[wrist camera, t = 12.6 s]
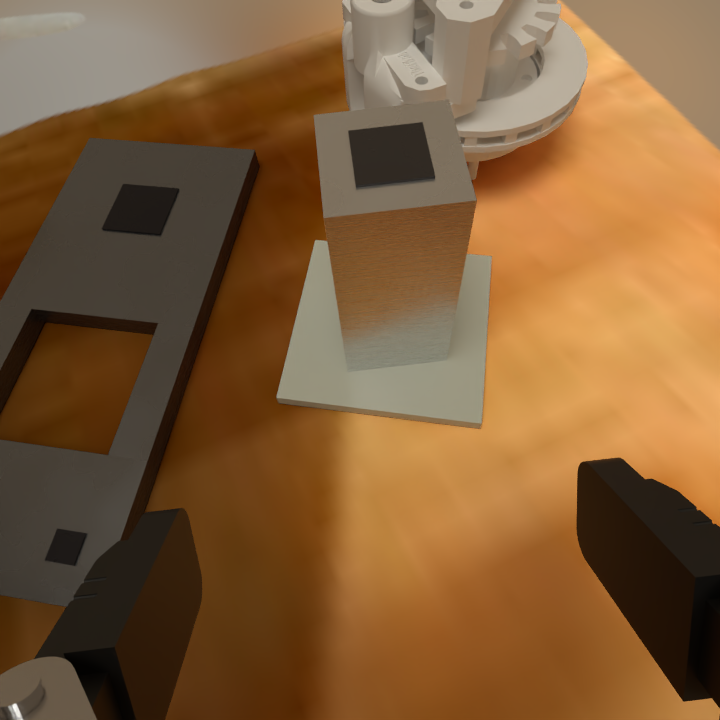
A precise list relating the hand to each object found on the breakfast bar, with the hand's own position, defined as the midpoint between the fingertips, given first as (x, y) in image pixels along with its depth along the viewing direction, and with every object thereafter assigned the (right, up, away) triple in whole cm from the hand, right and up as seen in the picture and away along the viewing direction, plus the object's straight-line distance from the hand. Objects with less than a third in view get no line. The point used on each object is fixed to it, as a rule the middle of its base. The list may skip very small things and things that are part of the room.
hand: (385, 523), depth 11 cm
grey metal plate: (-13, +5, +16) cm, 21 cm away
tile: (+1, +5, +15) cm, 16 cm away
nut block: (+1, +5, +15) cm, 16 cm away
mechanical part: (+5, +16, +21) cm, 27 cm away
